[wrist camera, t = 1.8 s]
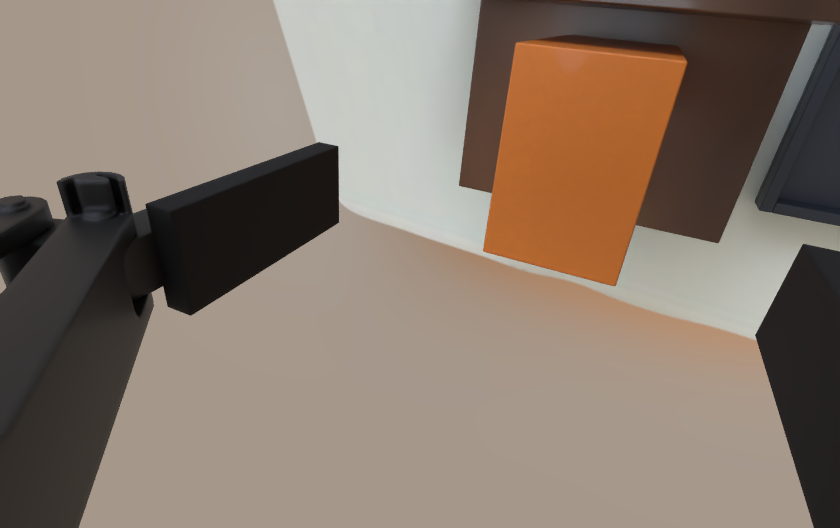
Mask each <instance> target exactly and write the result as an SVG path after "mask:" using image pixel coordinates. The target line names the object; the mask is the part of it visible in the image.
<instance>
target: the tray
mask: <svg viewBox="0 0 840 528" xmlns="http://www.w3.org/2000/svg"><path fill="white" fill-rule="evenodd" d="M755 203H756V205H757V207H758V209H759V210H760V211H765V212H772V213H776V214H781V215H786V216H791V217H796V218H801V219H806V220H811V221H817V222H822V223H827V224H832V225H837V226H840V25H833V27H832V29H831V31H830V33H829V36H828V38H827V40H826V42H825V45H824V47H823V49H822V51H821V54H820V56H819V58H818V60H817V63H816V65H815V67H814V69H813V72H812V74H811V76H810V78H809V81H808V83H807V85H806V87H805V90H804V92H803V94H802V96H801V98H800V101H799V103H798V105H797V107H796V110H795V112H794V114H793V116H792V119H791V121H790V123H789V125H788V128H787V130H786V132H785V134H784V137H783V139H782V141H781V143H780V146H779V148H778V150H777V152H776V155H775V157H774V159H773V161H772V164H771V166H770V168H769V170H768V173H767V175H766V177H765V179H764V182H763V184H762V186H761V188H760V191H759V193H758V195H757V197H756V200H755Z"/></svg>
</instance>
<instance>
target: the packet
mask: <svg viewBox="0 0 840 528" xmlns="http://www.w3.org/2000/svg"><path fill="white" fill-rule="evenodd" d="M687 64H688V63H687V60H686V59H685V57H684V55H683V53H682V52H681V50H680V48H679V46H676V45H666V44H657V43H647V42H637V41H627V40H617V39H607V38H597V37H588V36H578V35H562V36H556V37H549V38H543V39H536V40H530V41H523V42H517V43H516V44H515V51H514V57H513V64H512V70H511V76H510V83H509V89H508V95H507V102H506V108H505V114H504V121H503V127H502V133H501V140H500V146H499V153H498V159H497V165H496V172H495V178H494V184H493V191H492V197H491V203H490V210H489V216H488V222H487V229H486V235H485V242H484V248H483V251H484V252H487V253H491V254H495V255H498V256H502V257H506V258H510V259H513V260H517V261H521V262H525V263H529V264H532V265H536V266H540V267H544V268H547V269H551V270H555V271H559V272H562V273H566V274H570V275H574V276H577V277H581V278H585V279H589V280H592V281H596V282H600V283H604V284H607V285H611V286H615V285H616V283H617V280H618V277H619V274H620V271H621V268H622V265H623V262H624V259H625V255H626V252H627V249H628V246H629V243H630V240H631V237H632V234H633V231H634V228H635V225H636V221H637V218H638V215H639V212H640V209H641V206H642V203H643V200H644V197H645V194H646V190H647V187H648V184H649V181H650V178H651V175H652V172H653V169H654V166H655V163H656V160H657V156H658V153H659V150H660V147H661V144H662V141H663V138H664V135H665V132H666V129H667V126H668V122H669V119H670V116H671V113H672V110H673V107H674V104H675V101H676V98H677V95H678V92H679V88H680V85H681V82H682V79H683V76H684V73H685V70H686V67H687Z"/></svg>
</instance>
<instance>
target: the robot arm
mask: <svg viewBox="0 0 840 528" xmlns="http://www.w3.org/2000/svg"><path fill="white" fill-rule="evenodd" d="M57 185H58V189H59V192H60V195H61V198H62V201H63V204H64V208H65V211H66V214H67V217H66V218H65V219H64V220H62V219H53V218H52V215H51V212H50V209H49V206H48V203H47V201H46V200H44V199H42V198H37V197H23V196H9V197H4V198H1V199H0V272H1V275H2V277H3V279H4V282H5V284H6V287H7V288H6V289H5V290H4V291H3V292H2V293H1V294H0V528H78V527H79V524H80V521H81V519H82V516H83V513H84V510H85V507H86V504H87V501H88V498H89V495H90V492H91V489H92V486H93V483H94V480H95V477H96V474H97V471H98V469H99V466H100V463H101V460H102V457H103V454H104V451H105V448H106V445H107V442H108V439H109V436H110V433H111V430H112V427H113V424H114V421H115V418H116V415H117V413H118V410H119V407H120V404H121V401H122V398H123V395H124V392H125V389H126V386H127V383H128V380H129V377H130V374H131V371H132V368H133V365H134V363H135V360H136V357H137V353H138V351H139V348H140V345H141V342H142V339H143V336H144V333H145V330H146V327H147V324H148V321H149V318H150V315H151V312H152V310H153V307H154V305H153V298H152V294H151V292H153V291H155V290H156V289H158V288H160V287H162V286H163V287H164V292H165V296H166V301H167V305H168V307H170V308H173V309H175V310H178V311H180V312H183V313H185V314H188V315H192V314H194V313H196V312H197V311H199V310H200V309H202V308H204V307H205V306H207V305H208V304H210V303H211V302H213V301H215V300H216V299H218V298H220V297H221V296H223V295H224V294H226V293H228V292H229V291H231V290H232V289H234V288H235V287H237V286H239V285H240V284H242V283H243V282H245V281H246V280H248V279H250V278H251V277H253V276H255V275H256V274H258V273H259V272H261V271H263V270H264V269H266V268H267V267H269V266H271V265H272V264H274V263H275V262H277V261H279V260H280V259H282V258H283V257H285V256H286V255H288V254H289V253H291V252H293V251H294V250H296V249H297V248H299V247H300V246H302V245H304V244H306V243H307V242H309V241H310V240H312V239H314V238H315V237H317V236H318V235H320V234H321V233H323V232H325V231H326V230H328V229H329V228H331V227H333V226H334V225H336V224H337V223H339V168H338V146H334V145H329V144H325V143H320V142H318V143H316V144H313V145H310V146H307V147H304V148H301V149H299V150H296V151H293V152H290V153H288V154H285V155H282V156H279V157H276V158H273V159H271V160H268V161H265V162H262V163H260V164H257V165H254V166H251V167H248V168H246V169H243V170H240V171H237V172H234V173H231V174H229V175H226V176H223V177H220V178H218V179H214V180H212V181H209V182H206V183H203V184H200V185H198V186H195V187H192V188H189V189H187V190H184V191H181V192H178V193H175V194H172V195H169V196H167V197H164V198H161V199H158V200H156V201H153V202H150V203H147V204H146V209H144V210H142V211H139V212H136V213H133V212H132V208H131V204H130V200H129V195H128V191H127V187H126V182H125V178H124V177H123V176H122V175H120V174H116V173H112V172H90V173H89V172H88V173H81V174H76V175H72V176H69V177H65V178H62V179H61V180H59V181H57ZM755 336H756V339H757V342H758V346H759V349H760V352H761V355H762V359H763V362H764V365H765V369H766V372H767V375H768V378H769V382H770V385H771V388H772V391H773V394H774V398H775V401H776V405H777V408H778V411H779V415H780V418H781V421H782V424H783V427H784V431H785V434H786V437H787V441H788V444H789V447H790V450H791V454H792V457H793V460H794V463H795V467H796V470H797V474H798V477H799V480H800V483H801V487H802V490H803V493H804V496H805V500H806V503H807V506H808V509H809V513H810V516H811V519H812V523H813V526H814V528H840V252H839V251H835V250H830V249H825V248H820V247H815V246H811V245H806V244H803V245H802V247H801V249H800V251H799V253H798V255H797V256H796V258H795V260H794V262H793V264H792V266H791V268H790V270H789V272H788V274H787V276H786V278H785V279H784V281H783V283H782V285H781V287H780V289H779V291H778V293H777V295H776V297H775V299H774V301H773V302H772V304H771V306H770V308H769V310H768V312H767V314H766V316H765V318H764V320H763V322H762V324H761V325H760V327H759V329H758V331H757V333H756V335H755Z"/></svg>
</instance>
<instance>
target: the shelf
mask: <svg viewBox="0 0 840 528" xmlns="http://www.w3.org/2000/svg"><path fill="white" fill-rule="evenodd" d="M812 24H815V25H840V0H481V7H480V15H479V24H478V32H477V40H476V48H475V57H474V65H473V73H472V82H471V90H470V98H469V107H468V115H467V123H466V131H465V140H464V148H463V156H462V165H461V173H460V181H459V186H463V187H467V188H472V189H476V190H481V191H485V192H490V193H492V191H493V184H494V178H495V172H496V165H497V159H498V153H499V146H500V140H501V133H502V127H503V121H504V114H505V108H506V102H507V95H508V89H509V83H510V76H511V70H512V64H513V57H514V51H515V44H516V43H517V42H523V41H530V40H536V39H543V38H549V37H556V36H562V35H578V36H588V37H597V38H607V39H617V40H627V41H637V42H647V43H657V44H666V45H676V46H679V48H680V50H681V52H682V53H683V55H684V57H685V59H686V60H687V63H688V64H687V67H686V70H685V73H684V76H683V79H682V82H681V85H680V88H679V92H678V95H677V98H676V101H675V104H674V107H673V110H672V113H671V116H670V119H669V122H668V126H667V129H666V132H665V135H664V138H663V141H662V144H661V147H660V150H659V153H658V156H657V160H656V163H655V166H654V169H653V172H652V175H651V178H650V181H649V184H648V187H647V190H646V194H645V197H644V200H643V203H642V206H641V209H640V212H639V215H638V218H637V221H636V225H638V226H643V227H647V228H652V229H656V230H661V231H665V232H670V233H674V234H679V235H683V236H688V237H692V238H697V239H701V240H706V241H710V242H715V243H719V241H720V239H721V236H722V234H723V232H724V229H725V227H726V225H727V222H728V220H729V217H730V215H731V213H732V210H733V208H734V206H735V203H736V201H737V199H738V196H739V194H740V192H741V189H742V187H743V185H744V182H745V180H746V178H747V175H748V173H749V170H750V168H751V166H752V163H753V161H754V159H755V156H756V154H757V152H758V149H759V147H760V145H761V142H762V140H763V138H764V135H765V133H766V131H767V128H768V126H769V123H770V121H771V119H772V116H773V114H774V112H775V109H776V107H777V105H778V102H779V100H780V98H781V95H782V93H783V91H784V88H785V86H786V83H787V81H788V79H789V76H790V74H791V72H792V69H793V67H794V65H795V62H796V60H797V58H798V55H799V53H800V51H801V48H802V46H803V44H804V41H805V39H806V36H807V34H808V32H809V29H810V27H811V25H812Z"/></svg>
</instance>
